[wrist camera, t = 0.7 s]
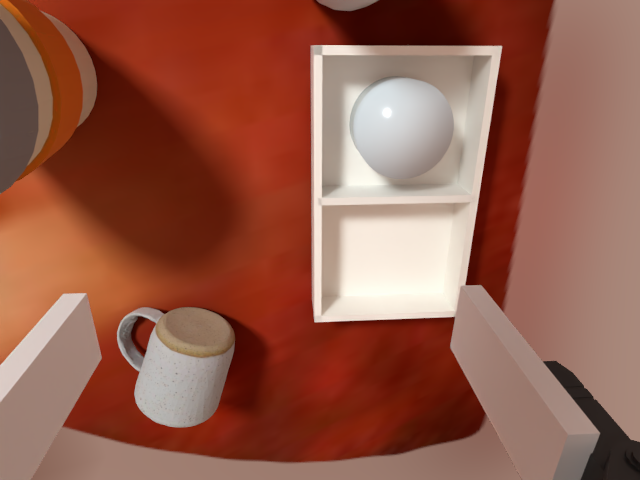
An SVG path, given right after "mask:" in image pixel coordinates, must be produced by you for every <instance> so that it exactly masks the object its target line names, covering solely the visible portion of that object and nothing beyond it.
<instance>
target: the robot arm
mask: <svg viewBox="0 0 640 480" xmlns="http://www.w3.org/2000/svg"><path fill="white" fill-rule="evenodd" d="M450 348H451V350H452V351H453V353H454V355H455V357H456V359H457V361H458V363H459V364H460V366H461V368H462V370H463V372H464V374H465V376H466V377H467V379H468V381H469V383H470V385H471V387H472V389H473V390H474V392H475V394H476V396H477V398H478V400H479V402H480V403H481V405H482V407H483V409H484V411H485V413H486V415H487V416H488V418H489V420H490V422H491V424H492V426H493V427H494V429H495V431H496V433H497V435H498V437H499V439H500V440H501V442H502V444H503V446H504V448H505V450H506V452H507V454H508V455H509V457H510V459H511V461H512V463H513V464H514V467H515V468H516V470H517V472H518V474H519V476H520V478H521V479H522V480H640V442H637V441H634V440H630V439H629V437H628V436H627V435H626V434H625V433H624V431H623V430H622V429H621V428H620V427H619V426H618V425H617V423H616V422H615V421H614V420H613V419H612V418H611V416H610V415H609V414H608V413H607V412H606V411H605V410H604V408H603V407H602V406H601V405H600V404H599V403H598V402H597V400H594V399H593V396H592V395H591V393H590V392H589V391H588V390H587V389H585V388H584V386H583V384H582V383H581V382H580V381H579V380H578V379H577V377H576V376H575V375H574V374H573V373H572V372H571V371H569V370H568V369H567V368H565V367H564V366H562V365H561V364H559V363H558V362H556V361H544V362H543V361H542V360H541V359H540V358H539V356H538V355H537V354H536V353H535V352H534V350H533V349H532V348H531V346H530V345H529V344H528V343H527V341H526V340H525V339H524V338H523V336H521V334H520V333H519V332H518V331H517V329H516V328H515V326H514V325H513V324H512V323H511V322H510V320H509V319H508V318H507V317H506V315H505V314H504V313H503V312H502V310H501V309H500V308H499V307H498V305H497V304H496V303H495V302H494V300H493V299H492V298H491V297H490V295H489V294H488V293H487V292H486V290H485V289H484V288H483V287H482V285H465V286H461V288H460V293H459V299H458V305H457V311H456V316H455V322H454V328H453V333H452V339H451V345H450ZM101 358H102V357H101V352H100V348H99V344H98V339H97V335H96V331H95V327H94V322H93V318H92V314H91V310H90V305H89V301H88V297H87V293H78V294H63V295H62V296H61V297H60V298H59V299H58V300H57V302H56V303H55V304H54V305H53V306H52V307H51V308H50V310H49V311H48V312H47V313H46V314H45V315H44V316H43V317H42V319H41V320H40V321H39V322H38V323H37V324H36V325H35V327H34V328H33V329H32V330H31V331H30V332H29V333H28V334H27V336H26V337H25V338H24V339H23V340H22V341H21V342H20V344H19V345H18V346H17V347H16V348H15V349H14V350H13V351H12V353H11V354H10V355H9V356H8V357H7V358H6V359H5V361H4V362H3V363H2V364H1V365H0V480H31V479H32V477H33V475H34V474H35V472H36V470H37V468H38V467H39V465H40V463H41V462H42V460H43V458H44V456H45V455H46V453H47V451H48V449H49V448H50V446H51V444H52V443H53V441H54V439H55V437H56V436H57V434H58V432H59V431H60V429H61V427H62V425H63V424H64V422H65V420H66V419H67V417H68V415H69V413H70V412H71V410H72V408H73V407H74V405H75V403H76V401H77V400H78V398H79V396H80V394H81V393H82V391H83V389H84V388H85V386H86V384H87V382H88V381H89V379H90V377H91V376H92V374H93V372H94V370H95V369H96V367H97V365H98V364H99V362H100V360H101Z"/></svg>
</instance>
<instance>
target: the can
mask: <svg viewBox="0 0 640 480" xmlns="http://www.w3.org/2000/svg"><path fill="white" fill-rule="evenodd" d="M317 1H318V2H319V3H320V4H323V5H325V6H327V7H329V8H331V9H334V10H342V11H353V10H357V9H360V8H364V7H367V6H369V5H371V4H373V3H375V2H376V1H378V0H317Z"/></svg>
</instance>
